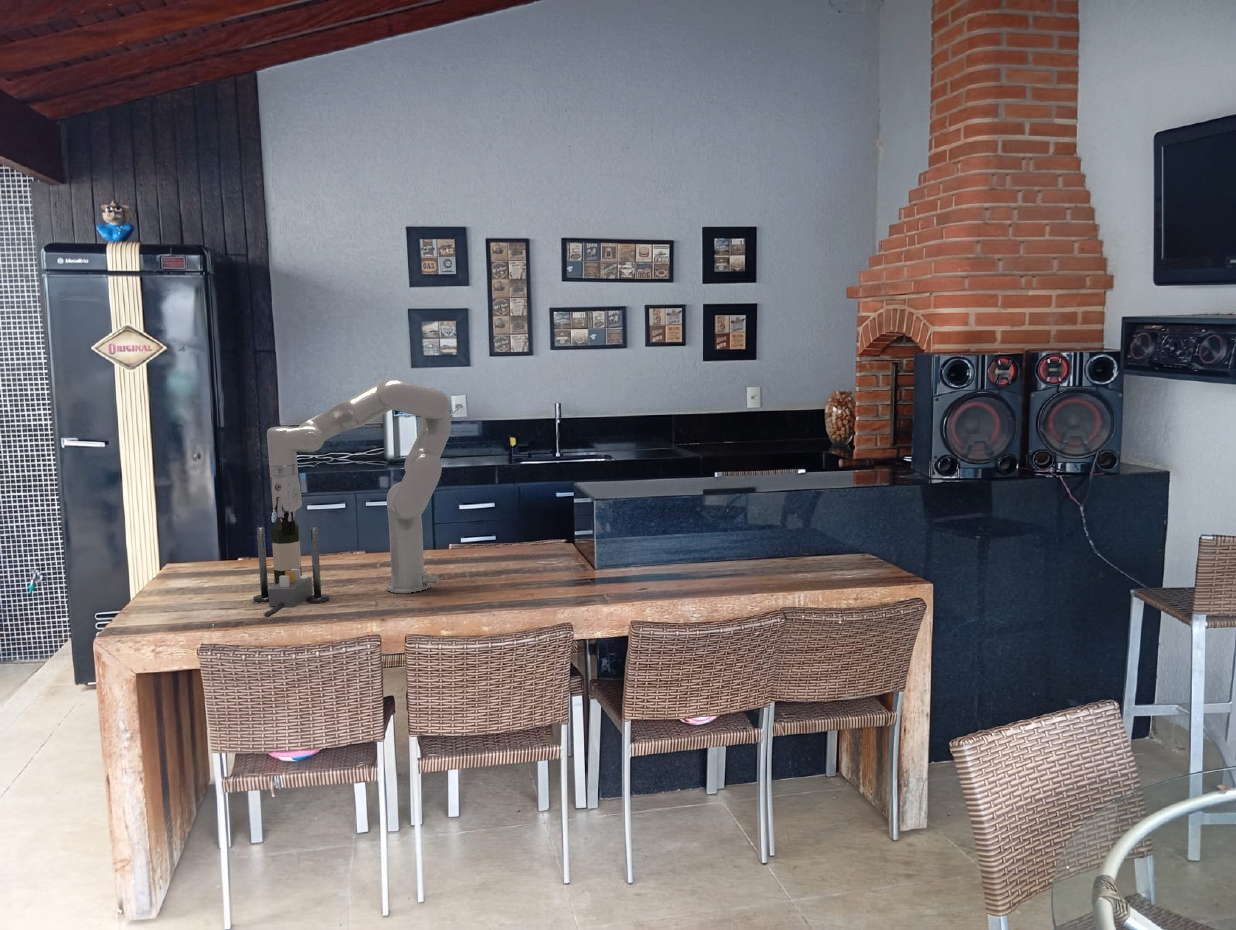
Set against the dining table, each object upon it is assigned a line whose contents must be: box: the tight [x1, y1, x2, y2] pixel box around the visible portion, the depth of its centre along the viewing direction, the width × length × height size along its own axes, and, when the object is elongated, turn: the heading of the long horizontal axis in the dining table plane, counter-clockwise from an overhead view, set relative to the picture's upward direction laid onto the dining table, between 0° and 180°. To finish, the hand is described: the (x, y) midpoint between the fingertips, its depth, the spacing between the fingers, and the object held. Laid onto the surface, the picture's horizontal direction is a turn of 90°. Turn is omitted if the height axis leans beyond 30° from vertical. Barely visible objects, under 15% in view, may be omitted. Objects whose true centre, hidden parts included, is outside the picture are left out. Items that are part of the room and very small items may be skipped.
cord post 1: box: [252, 526, 269, 603], centre depth 306 cm, size 6×6×21 cm
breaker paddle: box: [285, 571, 295, 583], centre depth 306 cm, size 2×1×3 cm, turn 84°
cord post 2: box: [305, 526, 331, 604], centre depth 305 cm, size 6×6×21 cm
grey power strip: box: [263, 569, 314, 618], centre depth 302 cm, size 7×24×8 cm, turn 174°
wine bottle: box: [271, 510, 303, 584], centre depth 328 cm, size 8×8×30 cm
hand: (289, 534), depth 305 cm, fingers closed
